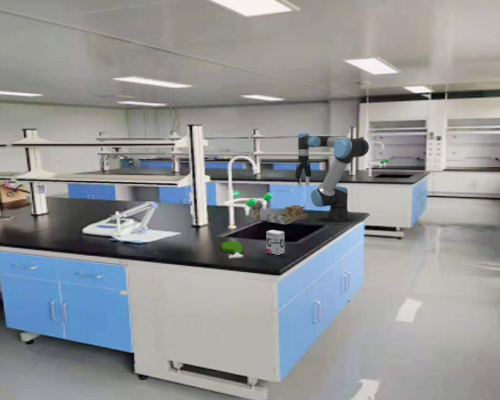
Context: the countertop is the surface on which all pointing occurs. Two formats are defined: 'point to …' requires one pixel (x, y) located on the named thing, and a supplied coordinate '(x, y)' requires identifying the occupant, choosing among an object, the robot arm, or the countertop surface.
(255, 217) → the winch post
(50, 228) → the countertop surface
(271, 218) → the bay
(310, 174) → the robot arm
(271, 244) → the ink box
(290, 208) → the crate
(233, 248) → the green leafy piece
